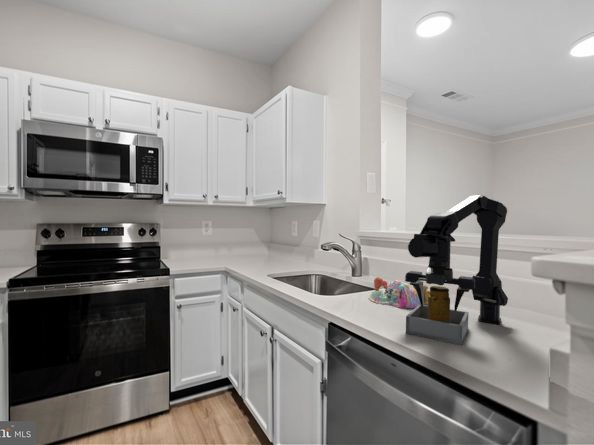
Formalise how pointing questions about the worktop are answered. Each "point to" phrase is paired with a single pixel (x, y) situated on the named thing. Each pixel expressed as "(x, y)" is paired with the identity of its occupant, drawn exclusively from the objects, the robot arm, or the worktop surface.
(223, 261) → the worktop surface
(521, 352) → the worktop surface
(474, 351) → the worktop surface
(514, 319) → the worktop surface
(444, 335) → the bin
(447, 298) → the condiment
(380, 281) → the colourful coral reef
